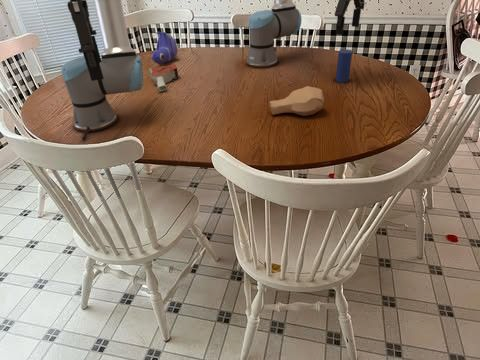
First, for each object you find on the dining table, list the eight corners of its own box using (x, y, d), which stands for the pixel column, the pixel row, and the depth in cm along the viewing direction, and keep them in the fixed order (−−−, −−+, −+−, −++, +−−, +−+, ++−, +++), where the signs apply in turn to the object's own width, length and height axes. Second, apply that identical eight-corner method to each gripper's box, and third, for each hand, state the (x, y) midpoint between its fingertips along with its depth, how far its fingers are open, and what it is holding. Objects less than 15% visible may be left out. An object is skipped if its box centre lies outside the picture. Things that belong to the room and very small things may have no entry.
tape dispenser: (162, 96, 154) (191, 78, 166) (160, 85, 150) (189, 67, 163) (133, 88, 161) (162, 71, 174) (130, 77, 158) (160, 60, 170)
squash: (328, 116, 127) (328, 95, 121) (272, 126, 129) (270, 106, 123) (321, 99, 135) (321, 79, 128) (269, 109, 137) (266, 89, 130)
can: (339, 77, 157) (343, 48, 150) (350, 79, 154) (354, 50, 147) (333, 80, 154) (336, 51, 147) (344, 83, 151) (348, 54, 144)
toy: (165, 64, 198) (145, 69, 175) (161, 31, 191) (139, 33, 169) (182, 63, 196) (164, 69, 173) (178, 30, 189) (159, 32, 167)
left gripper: (86, -25, 67) (115, 84, 79) (86, -35, 86) (109, 54, 98) (43, -21, 65) (80, 90, 77) (53, -32, 84) (81, 58, 96)
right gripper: (349, -26, 120) (340, 39, 133) (379, -35, 135) (369, 24, 148) (329, -27, 124) (323, 36, 137) (361, -36, 139) (352, 22, 152)
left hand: (97, 70), depth 88 cm, fingers open, 13 cm apart
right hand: (347, 30), depth 143 cm, fingers open, 13 cm apart
